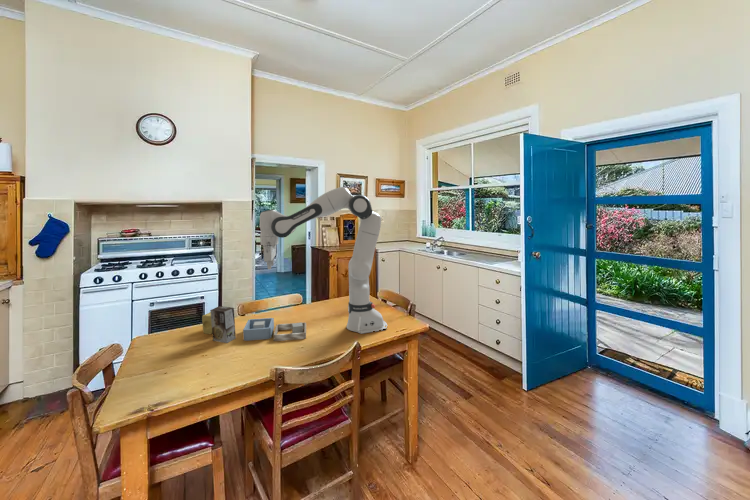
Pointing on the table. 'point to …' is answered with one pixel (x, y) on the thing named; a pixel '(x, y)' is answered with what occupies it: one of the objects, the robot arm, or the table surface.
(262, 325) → the stone
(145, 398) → the table surface
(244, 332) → the bin
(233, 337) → the coffee box
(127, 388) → the table surface
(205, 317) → the cheese
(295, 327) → the stone
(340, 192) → the robot arm
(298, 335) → the corral
